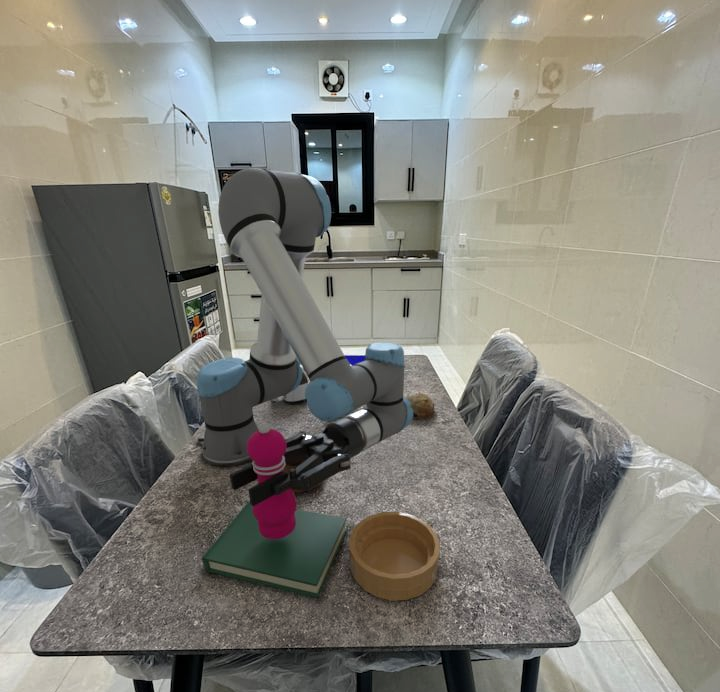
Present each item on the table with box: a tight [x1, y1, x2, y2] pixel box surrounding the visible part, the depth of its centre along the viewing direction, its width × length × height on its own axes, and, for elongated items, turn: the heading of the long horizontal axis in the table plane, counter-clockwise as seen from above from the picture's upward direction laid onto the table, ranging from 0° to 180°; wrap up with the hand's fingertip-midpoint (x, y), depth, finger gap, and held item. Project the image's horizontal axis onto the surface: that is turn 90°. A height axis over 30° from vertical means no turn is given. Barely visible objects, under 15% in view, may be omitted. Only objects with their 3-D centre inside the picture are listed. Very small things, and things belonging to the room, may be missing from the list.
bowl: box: [349, 511, 441, 602], centre depth 64 cm, size 15×15×5 cm
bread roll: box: [405, 392, 435, 420], centre depth 117 cm, size 10×10×8 cm
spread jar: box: [271, 364, 309, 405], centre depth 126 cm, size 12×11×12 cm
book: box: [201, 500, 348, 599], centre depth 67 cm, size 20×15×3 cm
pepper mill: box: [247, 421, 298, 539], centre depth 62 cm, size 7×7×20 cm
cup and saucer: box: [283, 453, 323, 493], centre depth 86 cm, size 12×12×6 cm
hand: (241, 489), depth 58 cm, fingers closed on pepper mill, 5 cm apart
